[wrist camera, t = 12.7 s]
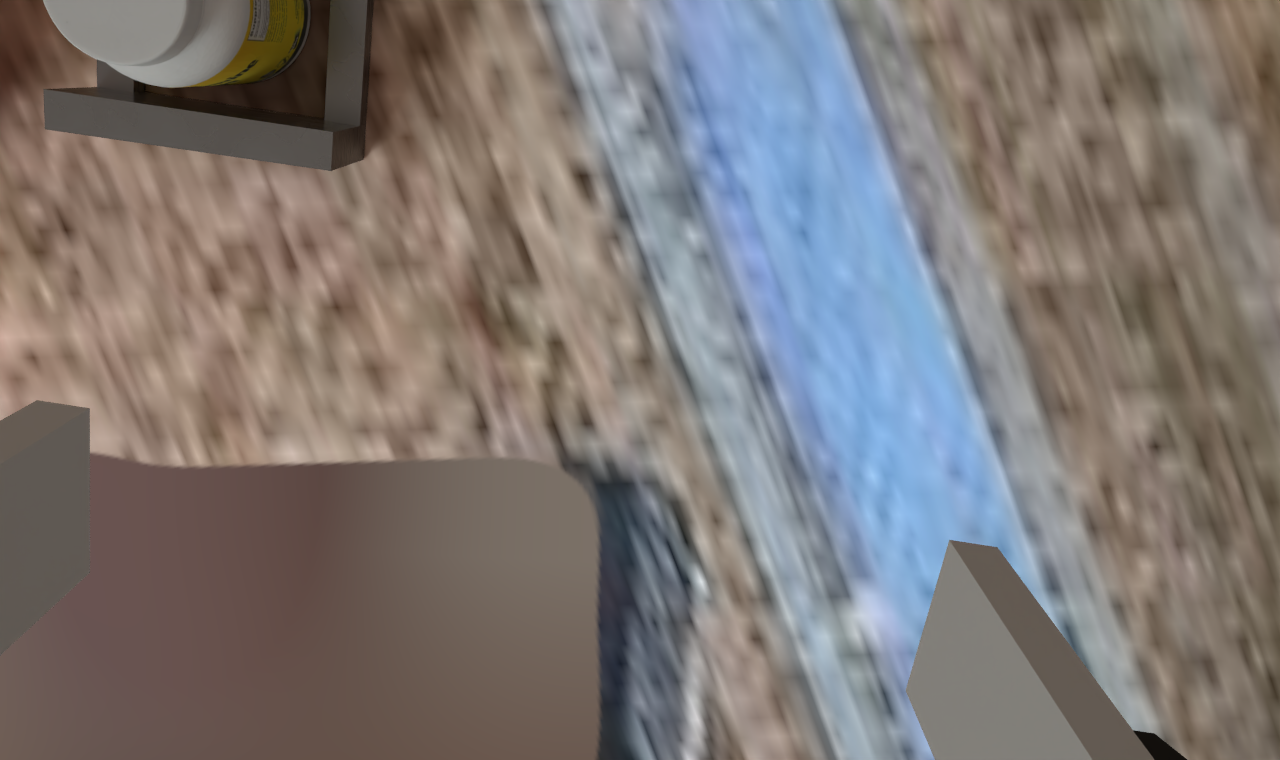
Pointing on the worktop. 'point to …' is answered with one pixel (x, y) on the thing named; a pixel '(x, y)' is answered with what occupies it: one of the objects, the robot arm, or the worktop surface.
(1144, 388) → the worktop surface
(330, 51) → the bracket
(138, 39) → the pill bottle
